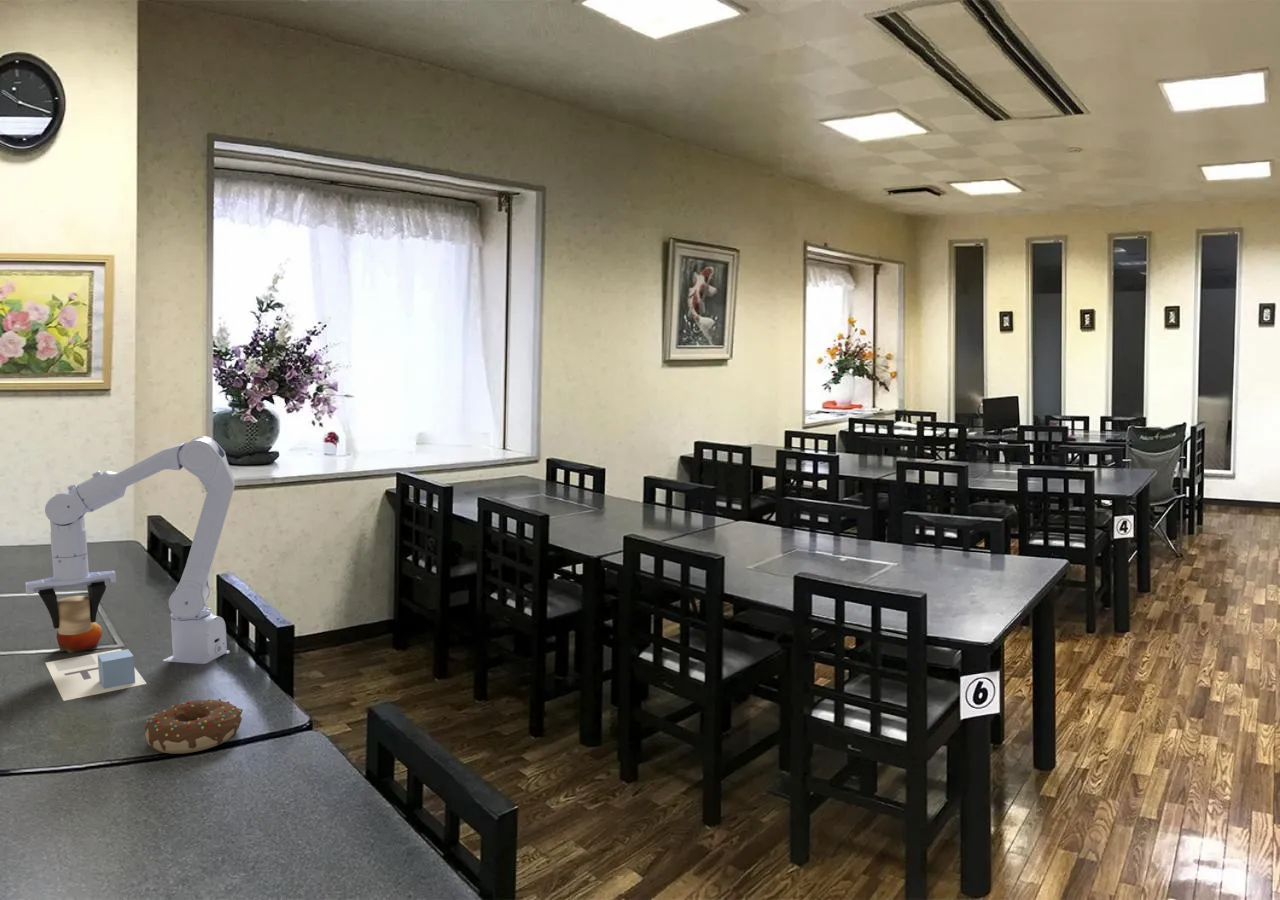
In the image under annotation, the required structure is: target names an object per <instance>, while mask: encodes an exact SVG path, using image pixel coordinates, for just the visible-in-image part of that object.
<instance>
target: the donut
mask: <svg viewBox="0 0 1280 900" xmlns="http://www.w3.org/2000/svg"><path fill="white" fill-rule="evenodd" d="M243 711H244V709H243V708H239V707H237V705H234V704H232V703H230V701H224V700H222V699H220V698H219V699H218V700H215V699H210V698H209V699H203V700H201V699H200V700H199V699H197V700H191V701H187V702H181V703H180V704H174V705H171V707H168V708H165V709H163V710H161V711H159V712H157V713H154V715H152V717H151V718H149V720H146V722H145V727H144V736H145V739H146V742H147V744H148V745H149V747H150V749H151V750H153V751H155V750H156V751H158V752H160V753H164V754H175V755H176V754H188V753H189V754H190V753H196V752H200V751H204V750H208V749H211V748H214V747H216V746H218V745H221V744H223V743H225V742H226V741H228V740H229V739H230V738H232V737H234V736H235V735H237V731H238V730H239V728H240V725H241V723H242V720H243V718H242V716H241V715H242V712H243Z"/></svg>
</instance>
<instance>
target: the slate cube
mask: <svg viewBox="0 0 1280 900" xmlns="http://www.w3.org/2000/svg"><path fill="white" fill-rule="evenodd" d="M134 667H135V656H134V655H133V653H132V652H131V651H130V650H129V649H128V648H126V649H121V650H120V651H115V652H110V653H104V654H99V655H98V669H99V681H100V683H101V685H102V686H103V688H104V689H106V688H111V687H115V686H120V685H125V684H130V683H135V669H136V668H135V669H134Z"/></svg>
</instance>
